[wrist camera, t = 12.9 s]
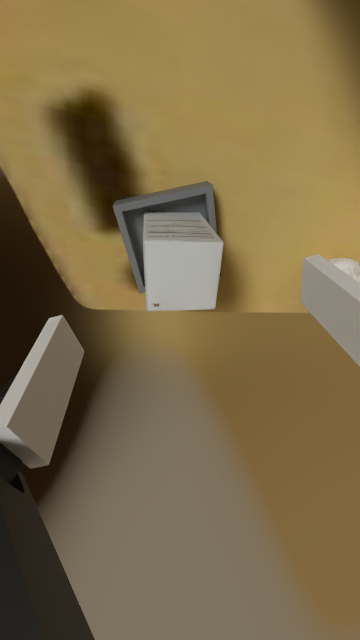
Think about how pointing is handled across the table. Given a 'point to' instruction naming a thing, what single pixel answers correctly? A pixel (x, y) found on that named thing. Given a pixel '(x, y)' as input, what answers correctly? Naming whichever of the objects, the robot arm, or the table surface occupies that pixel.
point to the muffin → (347, 267)
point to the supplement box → (180, 261)
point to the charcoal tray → (162, 201)
